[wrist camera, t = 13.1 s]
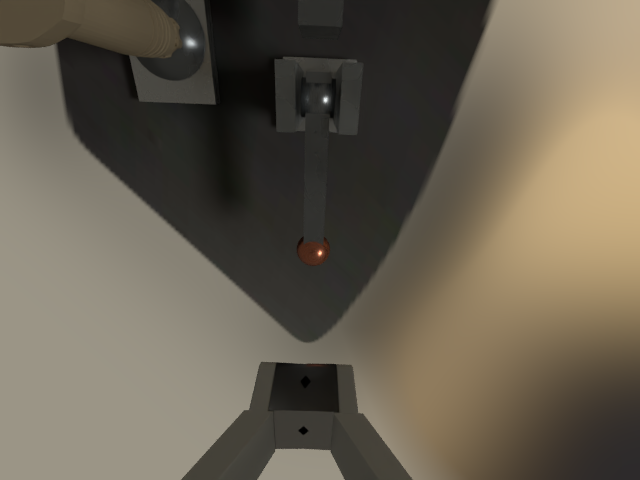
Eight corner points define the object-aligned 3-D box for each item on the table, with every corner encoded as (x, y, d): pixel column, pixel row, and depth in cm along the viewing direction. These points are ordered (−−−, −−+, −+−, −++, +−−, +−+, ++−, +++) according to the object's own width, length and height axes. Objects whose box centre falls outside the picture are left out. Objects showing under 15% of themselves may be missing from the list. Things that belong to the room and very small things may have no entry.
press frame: (119, -36, 24) (-29, -130, 14) (361, -24, 24) (391, -108, 14) (152, 123, 29) (64, 139, 19) (349, 131, 29) (364, 151, 19)
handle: (116, -1, 23) (-159, -126, 10) (197, -2, 23) (28, -129, 10) (135, 69, 25) (-72, 44, 12) (208, 68, 25) (82, 42, 12)
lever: (300, -67, 17) (294, -114, 13) (346, -65, 17) (354, -111, 13) (298, 250, 27) (294, 277, 23) (328, 251, 27) (329, 278, 23)
